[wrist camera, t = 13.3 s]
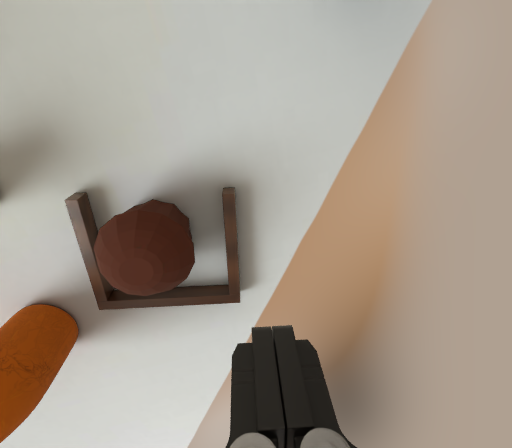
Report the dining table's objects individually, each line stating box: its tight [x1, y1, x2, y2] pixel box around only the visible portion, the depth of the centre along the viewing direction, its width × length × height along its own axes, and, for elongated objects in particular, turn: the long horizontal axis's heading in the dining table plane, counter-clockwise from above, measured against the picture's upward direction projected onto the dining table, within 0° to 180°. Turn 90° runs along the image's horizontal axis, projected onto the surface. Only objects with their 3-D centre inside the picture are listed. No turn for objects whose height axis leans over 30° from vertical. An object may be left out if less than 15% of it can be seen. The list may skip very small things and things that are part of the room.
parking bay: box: [65, 188, 240, 310], centre depth 41 cm, size 17×20×2 cm
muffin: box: [94, 199, 195, 296], centre depth 36 cm, size 12×11×10 cm
